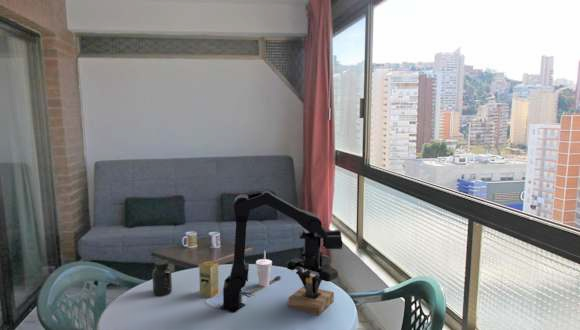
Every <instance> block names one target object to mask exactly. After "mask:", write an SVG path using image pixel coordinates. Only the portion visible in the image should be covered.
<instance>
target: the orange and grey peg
mask: <svg viewBox="0 0 580 330" xmlns="http://www.w3.org/2000/svg"><path fill="white" fill-rule="evenodd" d="M314 276H315V275H313V274H310V276H308V277H306V278H305V282H306V297H307V298H311V299H316V298H317V293H316V294H314V292H313V284H312V277H314ZM317 292H318V291H317Z"/></svg>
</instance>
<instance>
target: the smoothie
mask: <svg viewBox="0 0 580 330" xmlns="http://www.w3.org/2000/svg"><path fill="white" fill-rule="evenodd" d="M272 265H273V261H272V260H270V259H269V258H268V259H267V258H266V250H263V258H261V259H257V260H256V261H255V266H256V271H257V278H258V287H259V286H264V288H267V287H269V281H270V277H271V271H272V270H271V269H272V268H271V267H272Z"/></svg>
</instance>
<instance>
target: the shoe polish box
mask: <svg viewBox="0 0 580 330" xmlns="http://www.w3.org/2000/svg"><path fill="white" fill-rule="evenodd" d="M198 269H199V271H198V273H199V276H198V277H199V296H201V297H203V298H204V297H206V298H210V299H211V298H213V297H214V296H216V295H218V293H219V262H218V261H213V260H205V261H203V262H202V263H199V265H198Z"/></svg>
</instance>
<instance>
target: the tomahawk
mask: <svg viewBox="0 0 580 330" xmlns="http://www.w3.org/2000/svg"><path fill="white" fill-rule="evenodd" d="M281 278H282V277H281V275H277V276H275V277H274V278H272V280H269V285H272V284H274V283H277V281H278V280H281ZM263 288H265V287H264V286H259V285H258V286H257V287H256V288H253V289H252V290H250V291H249V292H246V291H242V296H243V295H244V296H245V297H247V298H251V297H252V296H253V297H254V296H255V294H254V293H256V292H257V291H259V290H262V289H263Z"/></svg>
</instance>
